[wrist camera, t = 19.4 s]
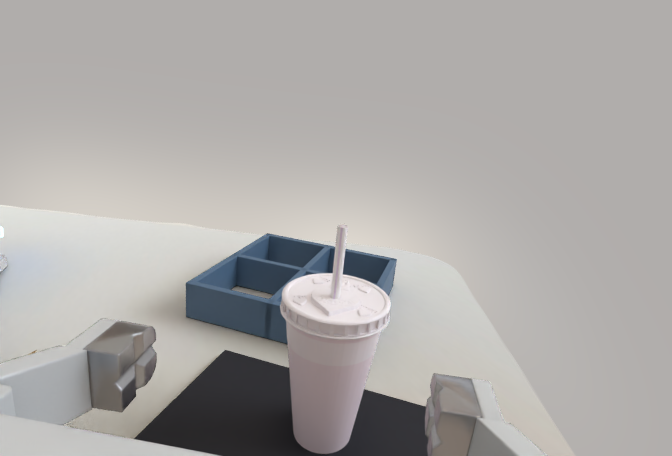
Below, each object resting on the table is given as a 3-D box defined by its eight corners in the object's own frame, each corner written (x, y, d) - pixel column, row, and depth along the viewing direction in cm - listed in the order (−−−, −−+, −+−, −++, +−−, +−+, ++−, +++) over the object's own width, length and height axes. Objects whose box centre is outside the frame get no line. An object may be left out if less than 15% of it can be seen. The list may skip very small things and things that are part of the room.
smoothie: (256, 457, 25) (268, 231, 21) (288, 388, 31) (303, 201, 27) (365, 484, 24) (400, 251, 20) (376, 407, 30) (405, 216, 26)
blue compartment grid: (185, 316, 40) (185, 282, 39) (265, 258, 55) (267, 233, 54) (357, 362, 36) (362, 326, 34) (392, 286, 51) (396, 258, 50)
